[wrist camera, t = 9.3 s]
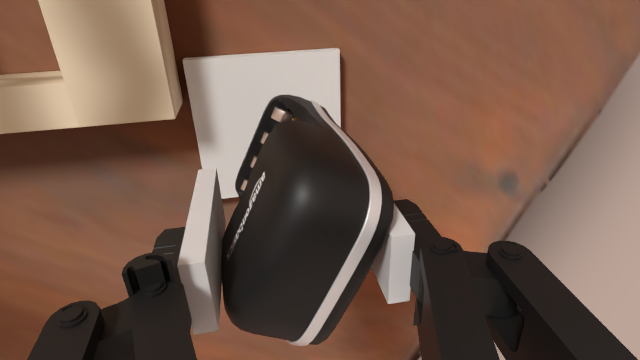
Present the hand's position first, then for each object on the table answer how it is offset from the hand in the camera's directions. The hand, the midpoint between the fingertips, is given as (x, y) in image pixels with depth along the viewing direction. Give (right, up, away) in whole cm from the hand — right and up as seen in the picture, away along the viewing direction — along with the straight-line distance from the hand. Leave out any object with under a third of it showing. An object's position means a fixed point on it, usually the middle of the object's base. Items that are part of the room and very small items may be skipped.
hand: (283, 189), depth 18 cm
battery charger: (-1, +2, +4) cm, 5 cm away
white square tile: (-2, +4, +8) cm, 9 cm away
